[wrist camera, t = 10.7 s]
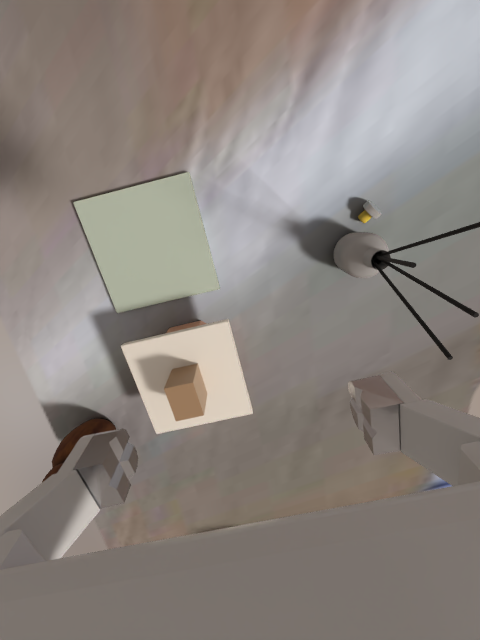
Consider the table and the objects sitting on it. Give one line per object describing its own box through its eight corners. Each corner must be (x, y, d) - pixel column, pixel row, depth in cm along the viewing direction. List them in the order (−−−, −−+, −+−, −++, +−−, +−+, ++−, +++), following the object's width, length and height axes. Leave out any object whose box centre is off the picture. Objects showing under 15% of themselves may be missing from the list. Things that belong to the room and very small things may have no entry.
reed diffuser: (359, 291, 36) (499, 371, 17) (305, 282, 35) (388, 353, 16) (386, 204, 33) (597, 182, 14) (327, 193, 32) (462, 153, 13)
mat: (75, 202, 32) (73, 202, 31) (189, 172, 31) (188, 171, 31) (119, 311, 36) (117, 313, 35) (219, 287, 35) (219, 288, 35)
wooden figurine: (114, 407, 41) (50, 507, 26) (130, 439, 42) (79, 548, 28) (70, 418, 41) (-17, 523, 27) (88, 449, 43) (15, 563, 29)
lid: (123, 343, 32) (105, 363, 27) (228, 318, 31) (227, 335, 27) (158, 429, 36) (147, 459, 31) (252, 409, 35) (255, 437, 31)
